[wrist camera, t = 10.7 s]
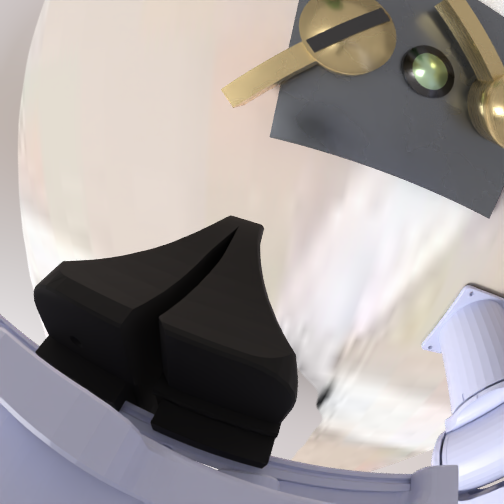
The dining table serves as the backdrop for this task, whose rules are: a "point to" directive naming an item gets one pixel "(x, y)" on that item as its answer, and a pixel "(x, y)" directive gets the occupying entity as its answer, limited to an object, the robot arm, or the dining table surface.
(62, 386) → the robot arm
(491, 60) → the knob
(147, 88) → the dining table surface
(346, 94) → the plate
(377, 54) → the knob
